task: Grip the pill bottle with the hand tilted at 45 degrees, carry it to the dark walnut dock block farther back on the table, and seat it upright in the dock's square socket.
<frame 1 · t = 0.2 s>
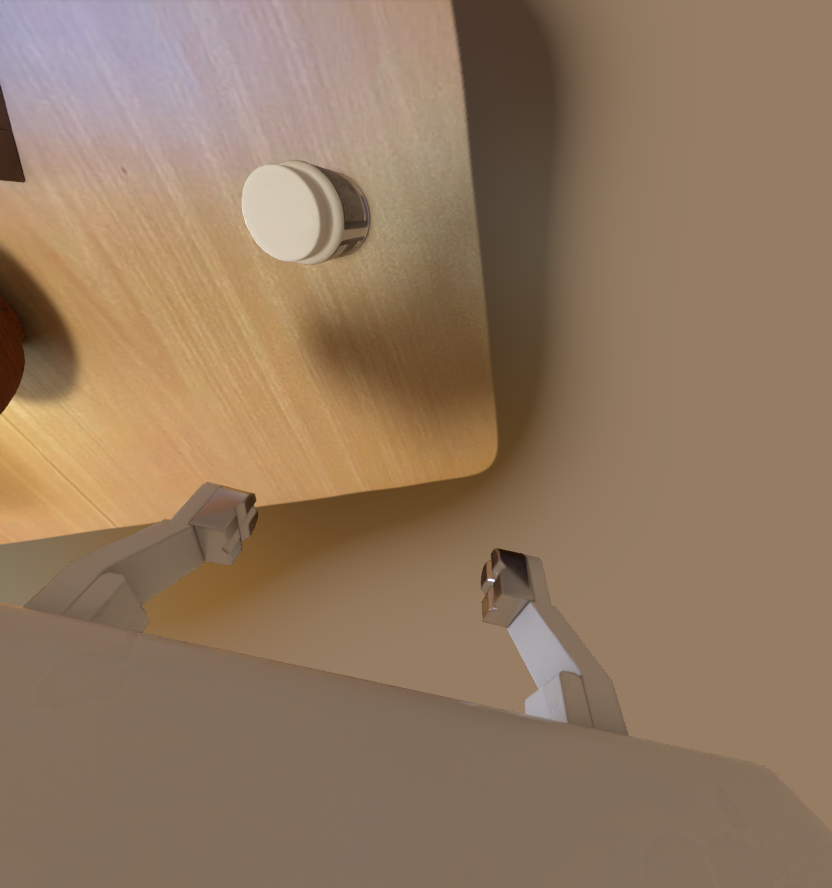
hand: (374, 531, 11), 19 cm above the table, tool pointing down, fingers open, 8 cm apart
pill bottle: (338, 216, 23), on the table
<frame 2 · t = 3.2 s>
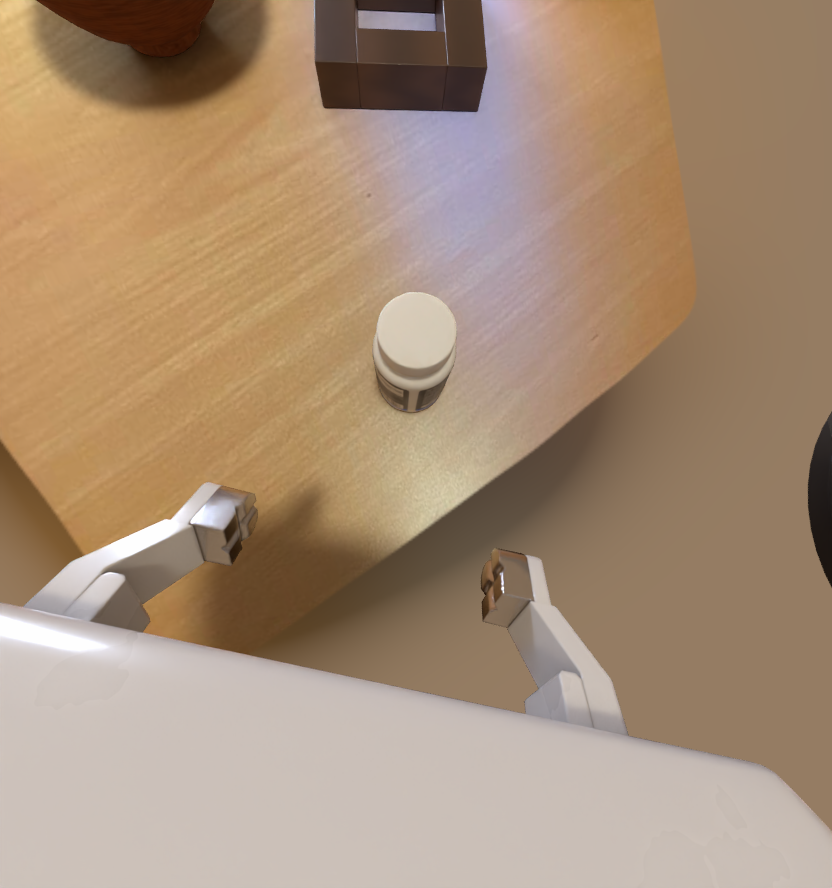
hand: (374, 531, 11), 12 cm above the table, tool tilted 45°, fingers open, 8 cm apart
pill bottle: (410, 382, 25), on the table
dock: (398, 44, 28), on the table
bowl: (163, 28, 27), on the table
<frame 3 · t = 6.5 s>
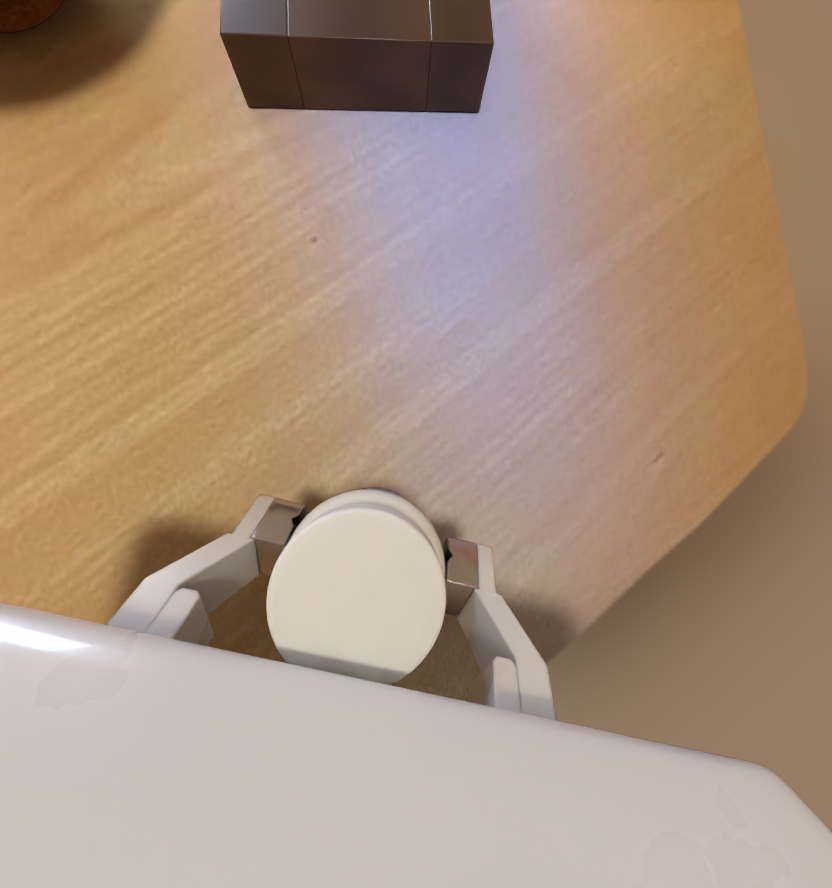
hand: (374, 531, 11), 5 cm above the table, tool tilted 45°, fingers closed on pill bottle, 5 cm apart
pill bottle: (372, 537, 16), on the table, touching gripper
dock: (362, 14, 19), on the table
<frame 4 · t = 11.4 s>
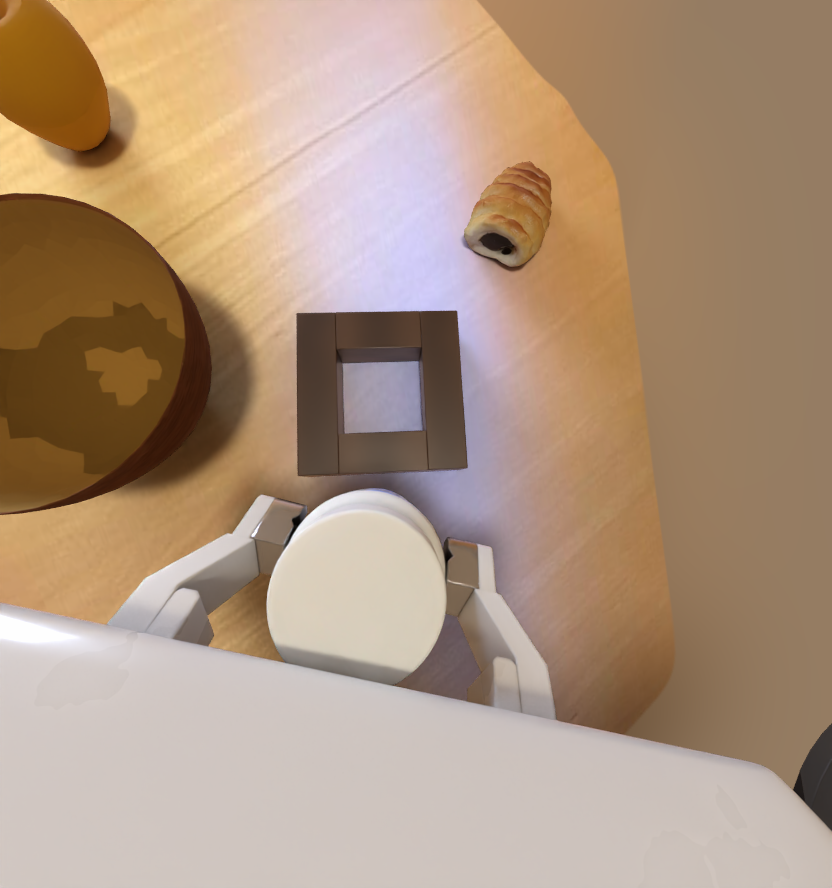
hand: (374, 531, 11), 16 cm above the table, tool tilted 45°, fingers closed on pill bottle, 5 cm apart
pill bottle: (373, 538, 16), point 12 cm above the table, touching gripper
dock: (382, 399, 29), on the table
bowl: (150, 395, 28), on the table
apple: (92, 137, 30), on the table
pastry: (504, 229, 32), on the table
when the fingers open (4 cm above the table, at t = 16.2 s): pill bottle stays where it is, resting in dock.
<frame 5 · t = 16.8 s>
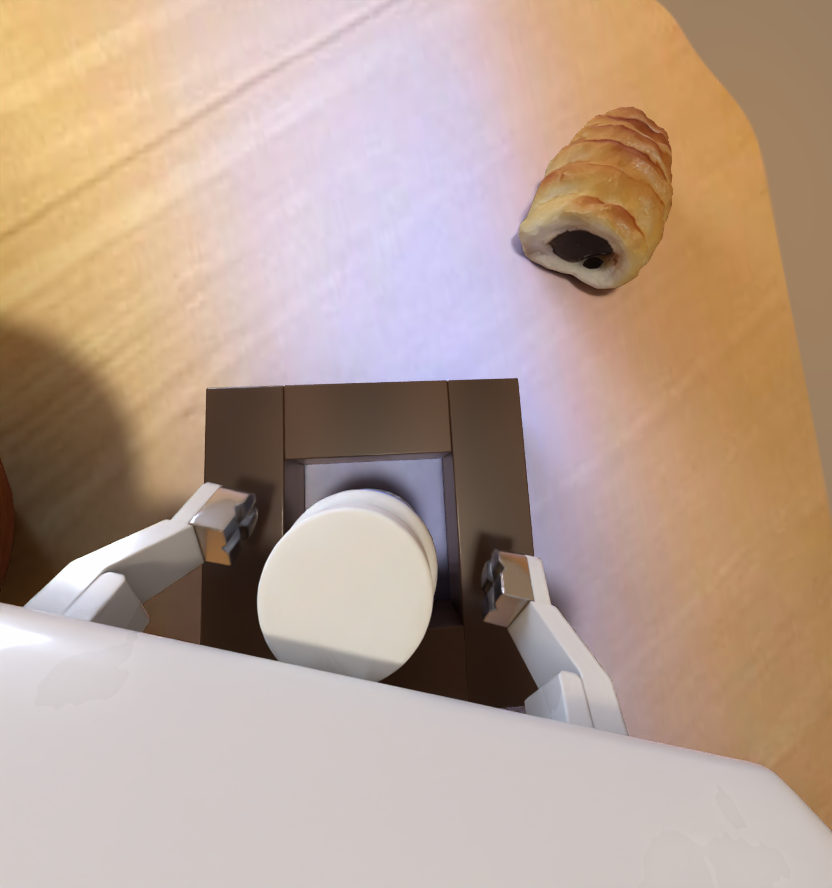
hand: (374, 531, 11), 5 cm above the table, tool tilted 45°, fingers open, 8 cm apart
pill bottle: (372, 538, 16), resting in dock
dock: (376, 531, 16), on the table
pastry: (581, 224, 19), on the table
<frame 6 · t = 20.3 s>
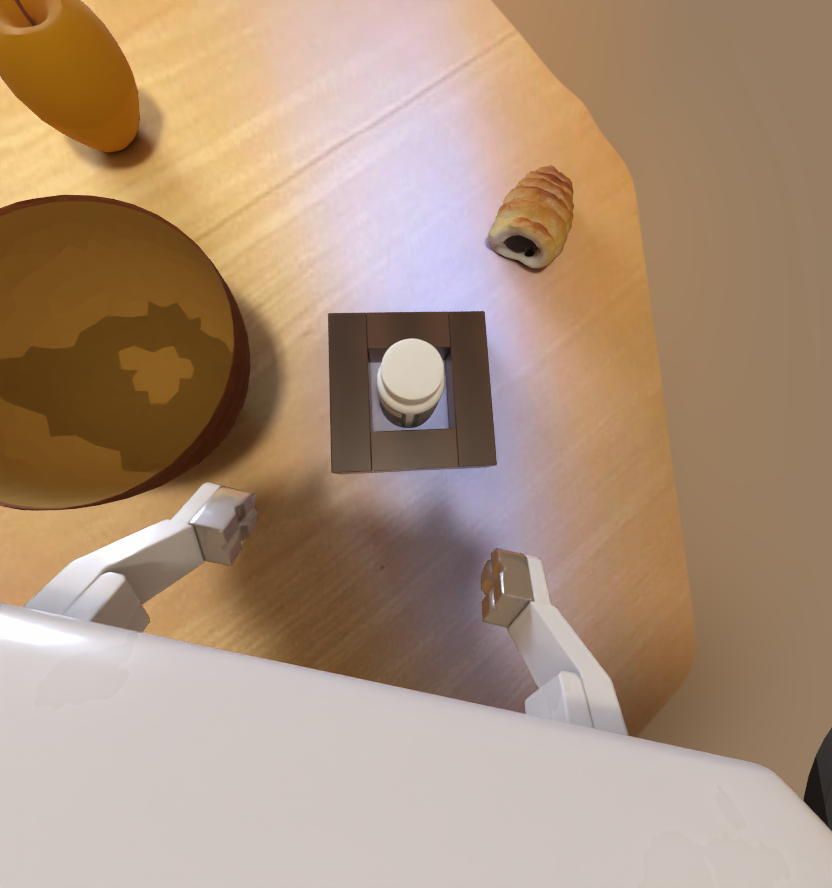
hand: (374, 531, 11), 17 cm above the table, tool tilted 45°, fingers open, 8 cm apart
pill bottle: (407, 402, 29), resting in dock
dock: (409, 398, 29), on the table
bowl: (181, 394, 28), on the table
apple: (120, 138, 31), on the table
pastry: (526, 231, 32), on the table
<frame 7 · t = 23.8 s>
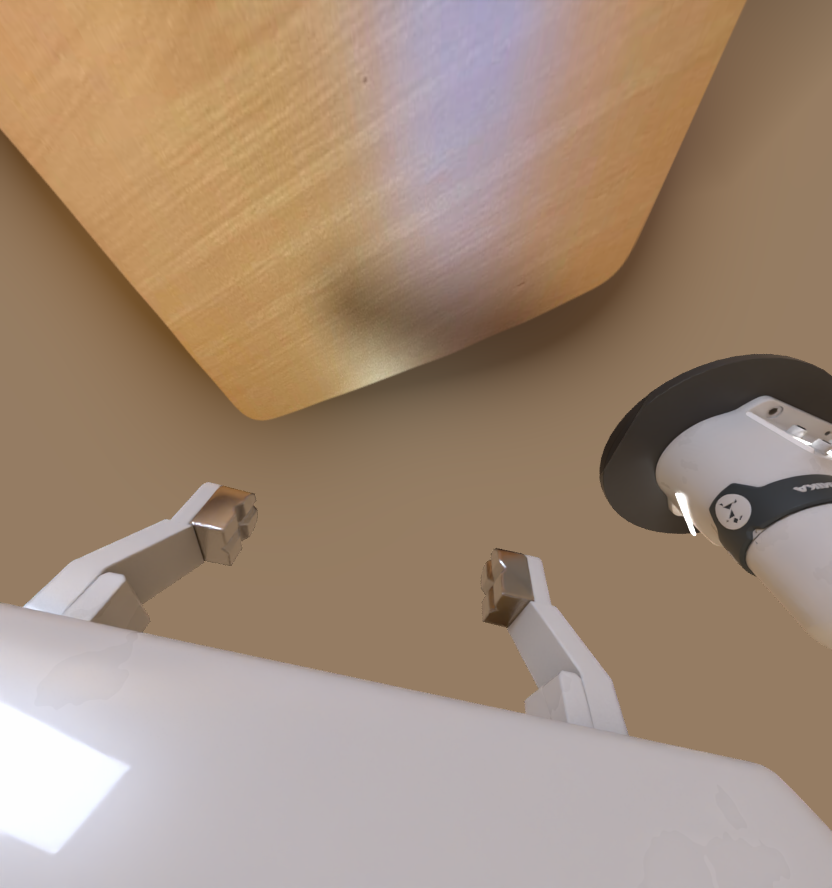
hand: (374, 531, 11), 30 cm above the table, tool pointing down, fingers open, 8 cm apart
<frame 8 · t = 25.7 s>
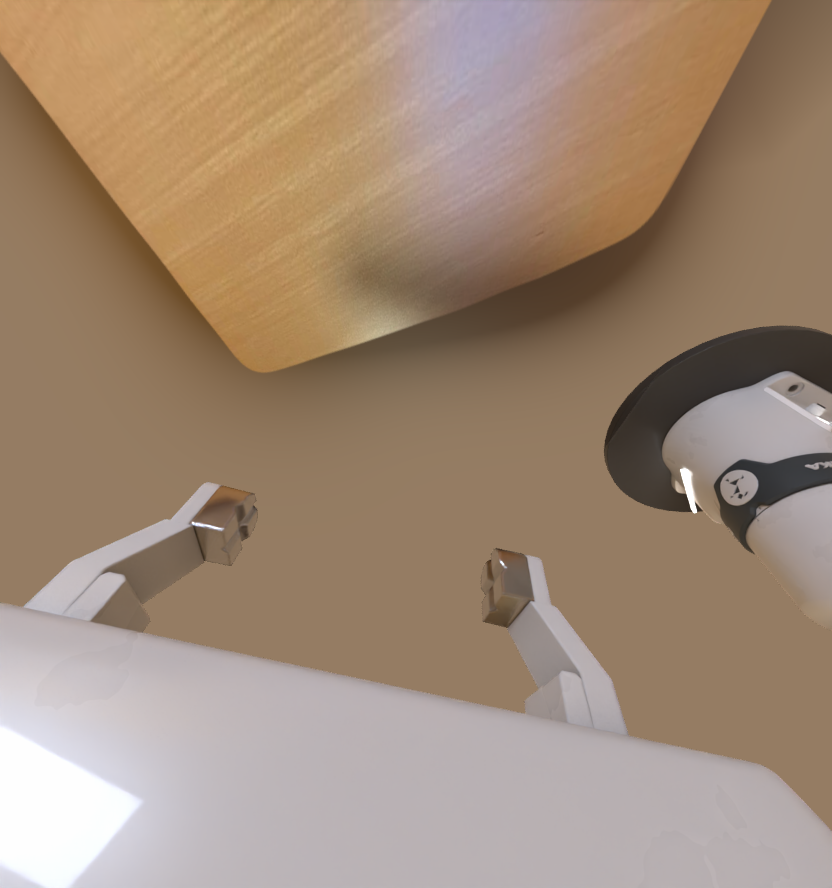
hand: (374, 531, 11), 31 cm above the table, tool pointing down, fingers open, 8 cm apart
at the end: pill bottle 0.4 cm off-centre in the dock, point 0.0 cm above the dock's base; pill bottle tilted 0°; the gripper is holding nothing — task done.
